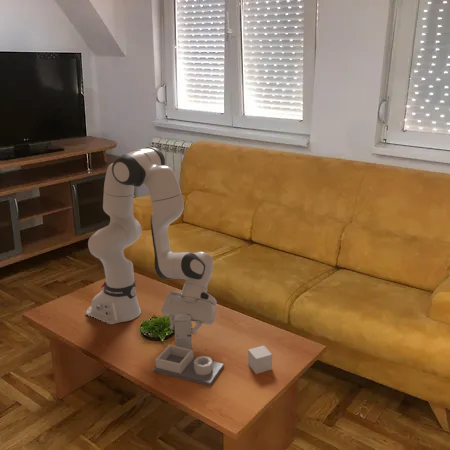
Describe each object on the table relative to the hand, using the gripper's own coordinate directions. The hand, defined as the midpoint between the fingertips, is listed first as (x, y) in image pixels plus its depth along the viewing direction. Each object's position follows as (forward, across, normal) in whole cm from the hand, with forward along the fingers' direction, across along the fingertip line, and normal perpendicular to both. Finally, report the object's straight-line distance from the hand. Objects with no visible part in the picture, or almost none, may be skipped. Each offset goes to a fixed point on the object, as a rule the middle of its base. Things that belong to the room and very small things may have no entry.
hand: (182, 331), depth 184 cm
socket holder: (+13, +8, -4) cm, 15 cm away
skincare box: (+4, 0, +5) cm, 7 cm away
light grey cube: (+6, +30, +4) cm, 31 cm away
